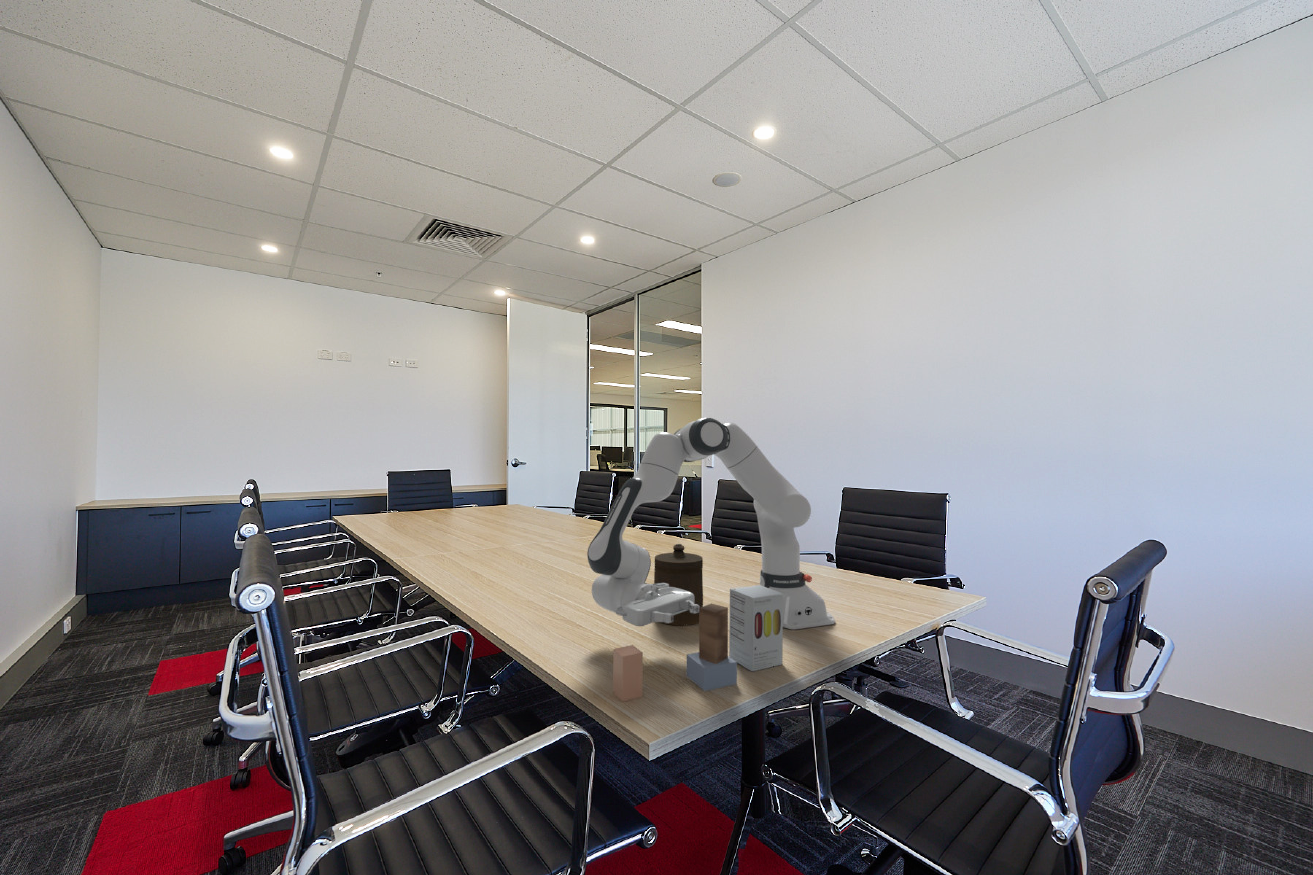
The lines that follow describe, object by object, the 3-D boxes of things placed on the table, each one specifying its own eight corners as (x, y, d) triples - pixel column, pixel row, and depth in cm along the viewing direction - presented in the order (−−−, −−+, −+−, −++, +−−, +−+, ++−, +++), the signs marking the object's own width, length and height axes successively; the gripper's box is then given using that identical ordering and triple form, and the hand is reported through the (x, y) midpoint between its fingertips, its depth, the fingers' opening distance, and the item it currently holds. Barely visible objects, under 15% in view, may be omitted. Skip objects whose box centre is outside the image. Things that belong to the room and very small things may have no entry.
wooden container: (696, 608, 163) (696, 539, 164) (708, 624, 149) (708, 548, 149) (650, 611, 161) (650, 540, 162) (658, 627, 146) (658, 549, 147)
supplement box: (751, 672, 117) (751, 598, 117) (727, 657, 125) (727, 588, 125) (784, 664, 121) (784, 592, 122) (759, 650, 130) (759, 583, 130)
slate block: (717, 670, 119) (717, 648, 119) (736, 685, 111) (736, 661, 111) (686, 676, 115) (686, 654, 115) (704, 692, 108) (704, 668, 108)
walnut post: (711, 652, 117) (711, 603, 117) (727, 657, 114) (727, 607, 114) (699, 658, 113) (699, 607, 113) (715, 664, 110) (716, 612, 110)
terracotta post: (632, 687, 109) (632, 644, 110) (642, 696, 105) (642, 652, 106) (613, 692, 107) (613, 648, 107) (622, 701, 103) (622, 656, 103)
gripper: (611, 597, 120) (654, 610, 111) (668, 581, 135) (711, 591, 126) (610, 624, 120) (654, 639, 111) (668, 605, 135) (711, 617, 126)
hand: (685, 614), depth 119 cm, fingers open, 8 cm apart
